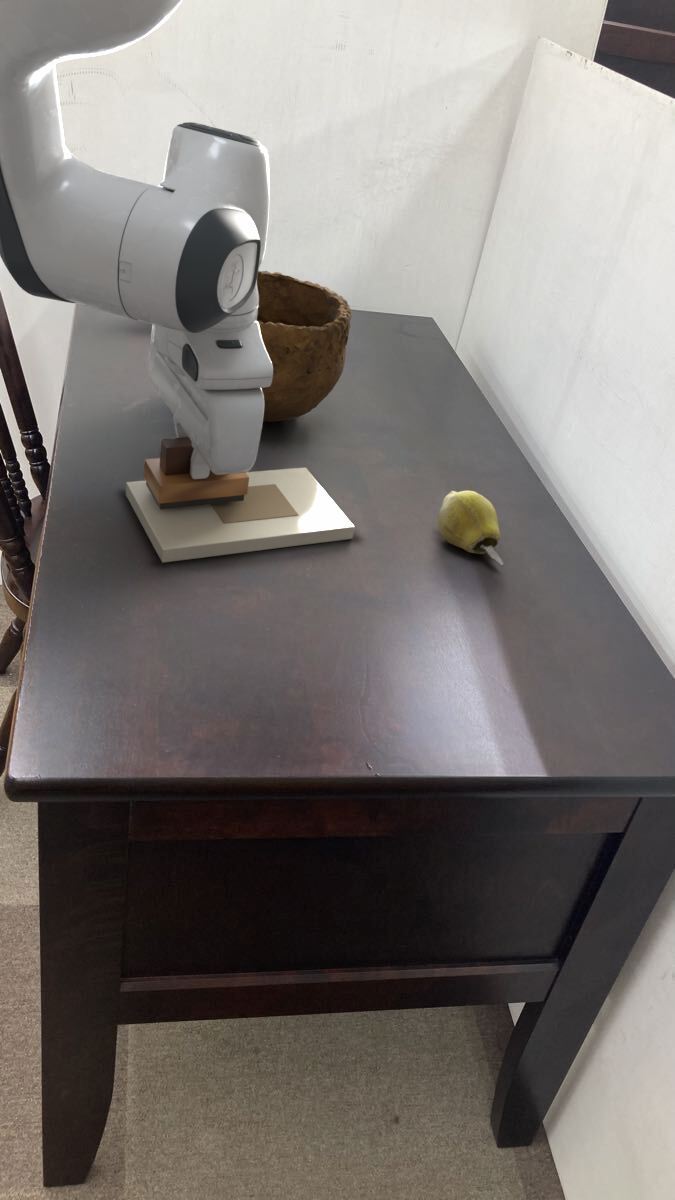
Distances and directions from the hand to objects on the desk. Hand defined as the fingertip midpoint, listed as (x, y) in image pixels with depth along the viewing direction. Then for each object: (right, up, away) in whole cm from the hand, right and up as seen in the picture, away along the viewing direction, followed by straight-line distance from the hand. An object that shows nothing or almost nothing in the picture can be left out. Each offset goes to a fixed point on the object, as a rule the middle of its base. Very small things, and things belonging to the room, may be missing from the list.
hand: (192, 466), depth 86 cm
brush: (0, -2, +2) cm, 3 cm away
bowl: (+4, +10, +24) cm, 26 cm away
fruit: (+28, -7, +7) cm, 30 cm away
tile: (+4, -4, +4) cm, 7 cm away
